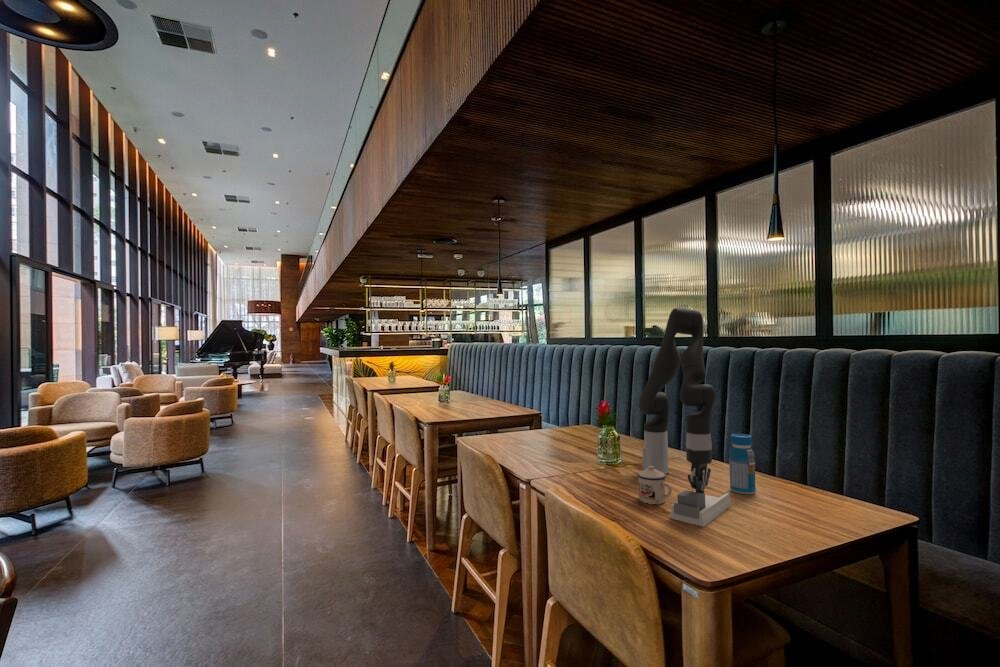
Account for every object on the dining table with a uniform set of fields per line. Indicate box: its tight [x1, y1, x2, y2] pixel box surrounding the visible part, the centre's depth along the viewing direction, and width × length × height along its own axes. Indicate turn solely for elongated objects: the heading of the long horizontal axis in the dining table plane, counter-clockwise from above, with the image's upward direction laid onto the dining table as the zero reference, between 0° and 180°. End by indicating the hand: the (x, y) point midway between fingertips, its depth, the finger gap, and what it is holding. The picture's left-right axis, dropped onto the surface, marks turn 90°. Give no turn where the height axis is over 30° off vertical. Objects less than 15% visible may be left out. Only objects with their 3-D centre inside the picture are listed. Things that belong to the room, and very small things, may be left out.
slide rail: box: [669, 490, 732, 528], centre depth 144 cm, size 10×24×5 cm, turn 135°
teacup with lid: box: [637, 466, 673, 505], centre depth 154 cm, size 12×9×12 cm
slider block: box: [676, 489, 706, 512], centre depth 139 cm, size 6×6×5 cm
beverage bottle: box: [728, 433, 757, 495], centre depth 164 cm, size 8×8×20 cm
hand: (700, 501), depth 145 cm, fingers closed
